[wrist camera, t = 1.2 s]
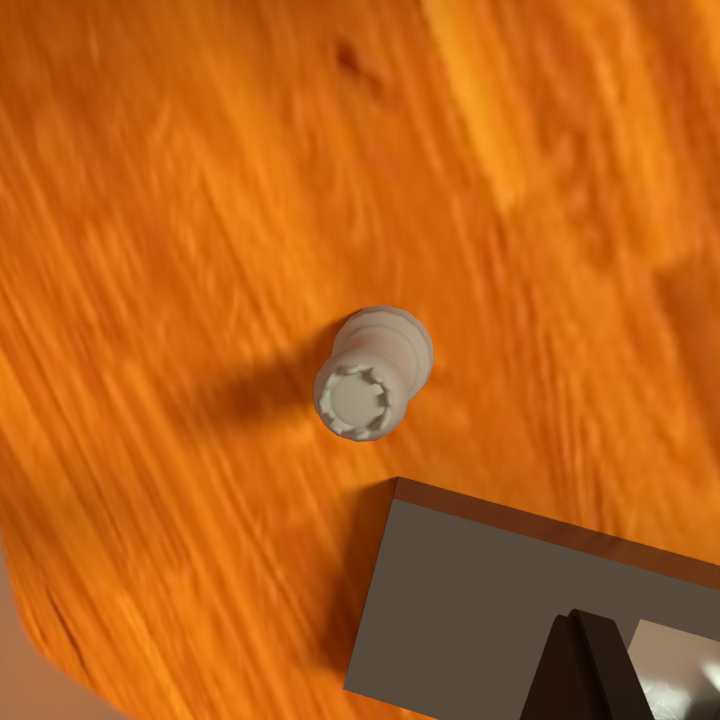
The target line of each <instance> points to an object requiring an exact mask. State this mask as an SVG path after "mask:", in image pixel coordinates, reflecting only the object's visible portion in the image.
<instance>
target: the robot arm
mask: <svg viewBox="0 0 720 720" xmlns="http://www.w3.org/2000/svg"><path fill="white" fill-rule="evenodd" d="M519 720H655V718H654V716H653V713H652V711H651V708H650V706H649V704H648V701H647V699H646V696H645V694H644V691H643V689H642V686H641V684H640V681H639V679H638V677H637V674H636V672H635V669H634V667H633V664H632V662H631V659H630V657H629V654H628V652H627V649H626V647H625V645H624V642H623V640H622V637H621V635H620V632H619V630H618V627H617V625H616V623H615V622H614V620H612V619H610V618H606V617H603V616H599V615H596V614H592V613H589V612H585V611H582V610H579V609H575V608H574V609H572V610H571V611H570V613H569V614H568V617H567V616H563V615H560V614H559V615H557V616H556V618H555V619H554V622H553V624H552V627H551V630H550V633H549V636H548V639H547V641H546V644H545V647H544V650H543V653H542V656H541V659H540V661H539V664H538V667H537V670H536V673H535V676H534V679H533V682H532V684H531V687H530V690H529V693H528V696H527V699H526V702H525V704H524V707H523V710H522V713H521V716H520V719H519Z"/></svg>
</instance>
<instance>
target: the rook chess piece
mask: <svg viewBox="0 0 720 720" xmlns="http://www.w3.org/2000/svg"><path fill="white" fill-rule="evenodd" d="M433 362H434V355H433V347H432V340H431V338H430V336H429V335H428V333H427V331H426V330H425V328H424V326H423V324H422V323H421V322H420V321H419V320H417V319H416V318H415V317H413V316H412V315H411V314H410V313H408V312H407V311H406V310H402V309H398V308H395V307H391V306H387V305H383V306H375V307H368V308H365V309H363V310H361V311H360V312H358V313H356V314H354V315H353V316H351V317H349V319H348V320H347V321H346V323H345V324H344V325H343V327H342V328H341V329H340V331H339V332H338V334H337V336H336V337H335V340H334V344H333V349H332V353H331V358H329V359H327V361H326V362H325V363H324V365H323V366H322V367H321V369H320V370H319V371H318V373H317V374H316V378H315V382H314V386H313V391H312V393H313V399H314V405H315V410H316V411H317V413H318V415H319V416H320V418H321V420H322V421H323V423H324V425H325V426H326V427H327V428H328V429H329V430H331V431H332V432H333V433H335V434H336V435H337V436H340V437H343V438H346V439H349V440H353V441H356V442H363V441H374V440H378V439H380V438H381V437H383V436H385V435H387V434H389V433H391V432H393V430H394V429H395V428H396V427H397V426H398V424H399V423H400V422H401V421H402V419H403V418H404V415H405V412H406V408H407V405H408V401H409V400H411V399H413V398H414V397H415V396H416V395H417V394H418V392H419V391H420V390H421V389H422V387H423V386H424V385H425V384H426V382H427V380H428V379H429V376H430V372H431V369H432V365H433Z"/></svg>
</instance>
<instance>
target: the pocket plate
mask: <svg viewBox="0 0 720 720" xmlns="http://www.w3.org/2000/svg"><path fill="white" fill-rule="evenodd" d="M574 608H575V609H579V610H582V611H585V612H589V613H592V614H596V615H599V616H603V617H606V618H610V619H612V620H614V622H615V623H616V625H617V627H618V630H619V632H620V635H621V637H622V640H623V642H624V645H625V647H626V649H627V652H628V654H629V657H630V659H631V662H632V664H633V667H634V669H635V672H636V674H637V677H638V679H639V681H640V684H641V686H642V689H643V691H644V694H645V696H646V699H647V701H648V704H649V706H650V708H651V711H652V713H653V716H654V718H655V720H720V566H718V565H715V564H711V563H707V562H704V561H700V560H697V559H693V558H690V557H686V556H682V555H679V554H675V553H672V552H668V551H664V550H661V549H657V548H654V547H650V546H646V545H643V544H639V543H636V542H632V541H629V540H625V539H621V538H618V537H614V536H611V535H607V534H603V533H600V532H596V531H593V530H589V529H586V528H582V527H578V526H575V525H571V524H568V523H564V522H560V521H557V520H553V519H550V518H546V517H542V516H539V515H535V514H532V513H528V512H525V511H521V510H517V509H514V508H510V507H507V506H503V505H499V504H496V503H492V502H489V501H485V500H481V499H478V498H474V497H471V496H467V495H464V494H460V493H456V492H453V491H449V490H446V489H442V488H438V487H435V486H431V485H428V484H424V483H420V482H417V481H413V480H410V479H406V478H403V477H399V476H398V480H397V484H396V488H395V492H394V495H393V499H392V503H391V507H390V511H389V514H388V518H387V522H386V526H385V530H384V533H383V537H382V541H381V545H380V549H379V552H378V556H377V560H376V564H375V568H374V571H373V575H372V579H371V583H370V587H369V590H368V594H367V598H366V602H365V606H364V609H363V613H362V617H361V621H360V624H359V628H358V632H357V636H356V640H355V643H354V647H353V651H352V655H351V659H350V663H349V667H348V671H347V675H346V679H345V683H344V687H343V689H344V690H348V691H351V692H354V693H357V694H360V695H363V696H367V697H370V698H373V699H376V700H379V701H382V702H385V703H389V704H392V705H395V706H398V707H401V708H404V709H408V710H411V711H414V712H417V713H420V714H423V715H426V716H430V717H433V718H436V719H439V720H519V719H520V716H521V713H522V710H523V707H524V704H525V702H526V699H527V696H528V693H529V690H530V687H531V684H532V682H533V679H534V676H535V673H536V670H537V667H538V664H539V661H540V659H541V656H542V653H543V650H544V647H545V644H546V641H547V639H548V636H549V633H550V630H551V627H552V624H553V622H554V619H555V618H556V616H557V615H559V614H560V615H563V616H567V617H568V614H569V613H570V611H571V610H572V609H574Z"/></svg>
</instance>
